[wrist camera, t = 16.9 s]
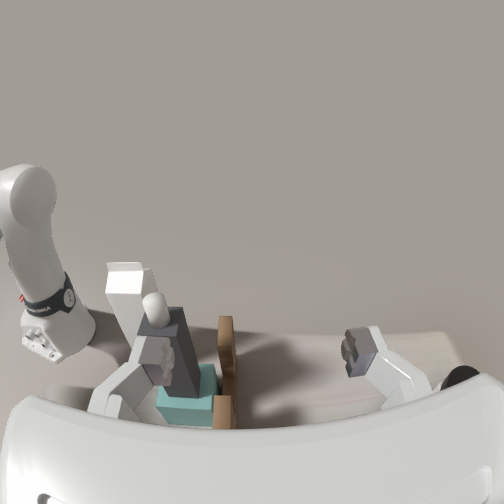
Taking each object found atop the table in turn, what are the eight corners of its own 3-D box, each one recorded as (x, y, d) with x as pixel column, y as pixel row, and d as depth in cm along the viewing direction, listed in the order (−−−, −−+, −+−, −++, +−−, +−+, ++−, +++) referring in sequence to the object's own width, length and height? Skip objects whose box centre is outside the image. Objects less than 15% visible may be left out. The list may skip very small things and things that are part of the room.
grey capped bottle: (168, 396, 33) (127, 314, 24) (172, 372, 37) (139, 286, 28) (198, 398, 33) (169, 315, 24) (201, 373, 37) (177, 286, 28)
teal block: (168, 423, 35) (155, 405, 32) (174, 384, 42) (163, 362, 38) (217, 426, 35) (211, 409, 32) (218, 385, 42) (213, 363, 38)
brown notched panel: (223, 460, 30) (212, 438, 24) (225, 358, 47) (219, 316, 41) (237, 460, 30) (230, 439, 24) (236, 358, 47) (232, 316, 41)
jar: (421, 450, 27) (462, 420, 21) (404, 414, 34) (437, 377, 27) (457, 427, 28) (496, 393, 22) (439, 396, 35) (472, 357, 29)
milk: (171, 370, 45) (135, 275, 33) (141, 368, 45) (97, 275, 33) (175, 345, 50) (147, 250, 38) (147, 344, 50) (113, 252, 38)
